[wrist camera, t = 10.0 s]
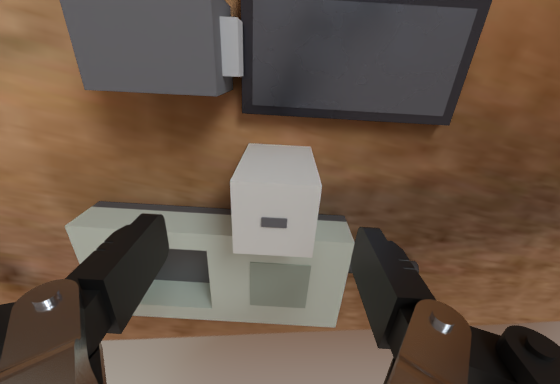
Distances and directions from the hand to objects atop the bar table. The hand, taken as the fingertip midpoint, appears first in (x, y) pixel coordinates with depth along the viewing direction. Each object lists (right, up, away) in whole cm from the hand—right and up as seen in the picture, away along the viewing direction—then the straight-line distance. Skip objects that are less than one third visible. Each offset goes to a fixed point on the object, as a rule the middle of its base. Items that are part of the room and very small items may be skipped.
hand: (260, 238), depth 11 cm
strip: (-1, -3, +10) cm, 10 cm away
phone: (+5, +9, +4) cm, 11 cm away
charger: (+1, +3, +7) cm, 7 cm away
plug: (-5, +10, +4) cm, 12 cm away
